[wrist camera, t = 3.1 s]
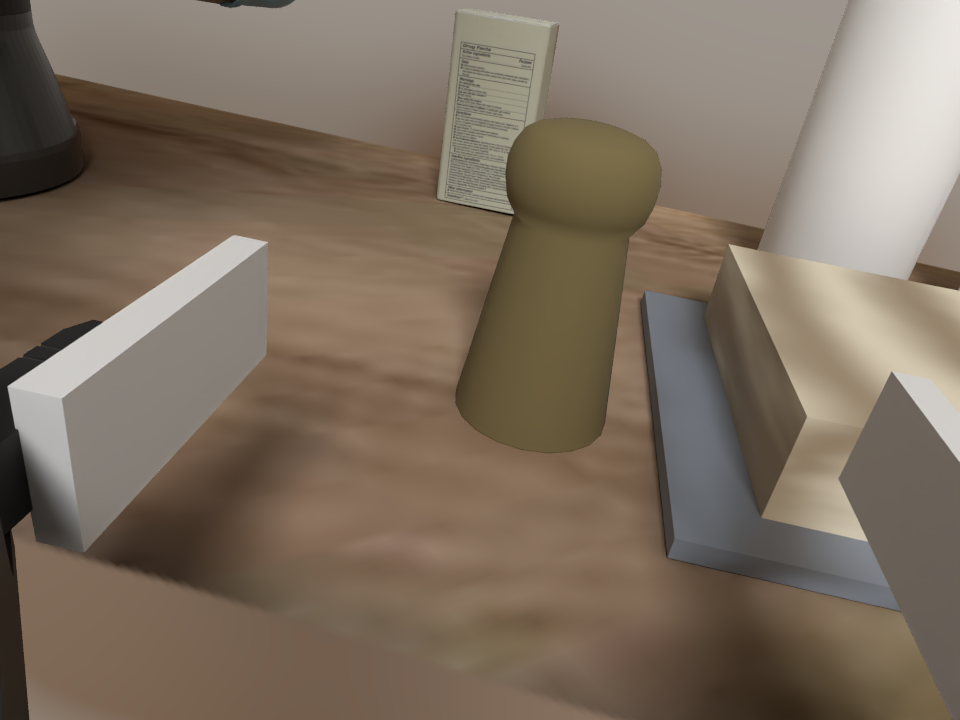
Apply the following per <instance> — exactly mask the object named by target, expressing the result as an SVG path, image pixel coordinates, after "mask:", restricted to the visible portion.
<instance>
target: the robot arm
mask: <svg viewBox="0 0 960 720" xmlns="http://www.w3.org/2000/svg"><path fill="white" fill-rule="evenodd" d="M199 1H205V2H210V3H217V4H220V5H221V6H224V7H229V8H232V7H238V6H241V5H246V6H256V7H267V8H281V7H284V6H286V5H289V4H290V3H292V2H293V1H294V0H199ZM83 167H84V160H83V151H82V142H81V134H80V130H79V126H78V124H77V122H76V120H75V119H74V118H73V116H72V115H71V114H70V111H69V109H68V106H67V103H66V101H65V98H64V96H63V93H62V91H61V88H60V86H59V84H58V81H57V79H56V77H55V74H54V72H53V70H52V67H51V65H50V63H49V61H48V58H47V56H46V54H45V52H44V50H43V47H42V45H41V43H40V41H39V39H38V37H37V34H36V32H35V28H34V25H33V19H32V12H31V5H30V0H0V198H7V197H13V196H19V195H24V194H29V193H33V192H38V191H41V190H45V189H48V188H52V187H55V186H57V185H60V184H62V183H65V182H67V181H69V180H71V179H72V178H74V177H75V176H77V175H78V174H79V173H80V172H81V171H82V169H83ZM267 274H268V242H264V241H260V240H255V239H250V238H245V237H240V236H235V235H233V236H232V237H230V238H229V239H227V240H226V241H224V242H223V243H221V244H220V245H218V246H217V247H215V248H214V249H212V250H211V251H209V252H208V253H206V254H205V255H203V256H202V257H200V258H199V259H197V260H196V261H194V262H193V263H191V264H190V265H188V266H187V267H185V268H184V269H182V270H181V271H179V272H178V273H176V274H175V275H173V276H172V277H170V278H169V279H167V280H166V281H164V282H163V283H161V284H160V285H158V286H157V287H155V288H154V289H152V290H151V291H149V292H148V293H146V294H145V295H143V296H142V297H140V298H139V299H137V300H136V301H134V302H133V303H131V304H130V305H128V306H127V307H125V308H124V309H122V310H121V311H119V312H118V313H116V314H115V315H113V316H112V317H110V318H109V319H107V320H106V321H104V322H101V321H96V320H91V321H88V322H85V323H82V324H79V325H76V326H72V327H69V328H66V329H63V330H62V331H60V332H58V333H57V334H55V335H54V336H52V337H51V338H49V339H47V340H46V341H44V342H43V343H41V347H39V346H36V347H35V348H33V349H32V350H30V351H28V352H27V353H25V354H24V355H23V358H17V359H16V360H14V361H13V362H11V363H9V364H8V365H6V366H5V367H3V368H2V369H0V720H29V711H28V699H27V688H26V676H25V664H24V652H23V640H22V629H21V617H20V605H19V593H18V582H17V570H16V558H15V546H14V541H13V536H12V531H11V529H12V528H13V527H14V526H15V525H16V524H17V523H18V522H20V521H21V520H22V519H23V518H24V517H25V516H26V515H27V514H28V513H29V512H31V516H32V522H33V527H34V532H35V538H36V541H37V542H41V543H45V544H49V545H53V546H57V547H62V548H66V549H70V550H74V551H78V552H83V553H84V552H85V551H86V550H87V549H88V548H89V547H90V546H91V545H92V544H93V542H94V541H95V540H96V539H97V538H98V537H99V536H100V535H101V534H102V533H103V532H104V531H105V529H106V528H107V527H108V526H109V525H110V524H111V523H112V522H113V521H114V520H115V519H116V517H117V516H118V515H119V514H120V513H121V512H122V511H123V510H124V509H125V508H126V507H127V506H128V504H129V503H130V502H131V501H132V500H133V499H134V498H135V497H136V496H137V495H138V494H139V493H140V491H141V490H142V489H143V488H144V487H145V486H146V485H147V484H148V483H149V482H150V481H151V479H152V478H153V477H154V476H155V475H156V474H157V473H158V472H159V471H160V470H161V469H162V468H163V466H164V465H165V464H166V463H167V462H168V461H169V460H170V459H171V458H172V457H173V456H174V455H175V453H176V452H177V451H178V450H179V449H180V448H181V447H182V446H183V445H184V444H185V443H186V441H187V440H188V439H189V438H190V437H191V436H192V435H193V434H194V433H195V432H196V431H197V430H198V428H199V427H200V426H201V425H202V424H203V423H204V422H205V421H206V420H207V419H208V418H209V416H210V415H211V414H212V413H213V412H214V411H215V410H216V409H217V408H218V407H219V406H220V405H221V403H222V402H223V401H224V400H225V399H226V398H227V397H228V396H229V395H230V394H231V393H232V392H233V390H234V389H235V388H236V387H237V386H238V385H239V384H240V383H241V382H242V381H243V380H244V378H245V377H246V376H247V375H248V374H249V373H250V372H251V371H252V370H253V369H254V368H255V367H256V365H257V364H258V363H259V362H260V361H261V360H262V359H263V358H264V357H265V356H266V339H267ZM838 479H839V481H840V483H841V485H842V488H843V490H844V492H845V494H846V496H847V498H848V500H849V502H850V504H851V507H852V509H853V511H854V513H855V515H856V517H857V519H858V521H859V523H860V526H861V528H862V530H863V532H864V534H865V536H866V538H867V540H868V542H869V545H870V547H871V549H872V551H873V553H874V555H875V557H876V559H877V561H878V564H879V566H880V568H881V570H882V572H883V574H884V576H885V578H886V580H887V583H888V585H889V587H890V589H891V591H892V593H893V595H894V597H895V599H896V602H897V604H898V606H899V608H900V610H901V612H902V614H903V616H904V618H905V621H906V623H907V625H908V627H909V629H910V631H911V633H912V635H913V637H914V640H915V642H916V644H917V646H918V648H919V650H920V652H921V654H922V656H923V659H924V661H925V663H926V665H927V667H928V669H929V671H930V673H931V676H932V678H933V680H934V682H935V684H936V686H937V688H938V690H939V692H940V695H941V697H942V699H943V701H944V703H945V705H946V707H947V709H948V711H949V714H950V716H951V718H952V720H960V414H959V413H958V412H957V411H956V409H955V408H954V407H953V406H952V405H951V403H950V402H949V401H948V400H947V399H946V397H945V396H944V395H943V394H942V392H941V391H940V390H939V389H938V388H937V386H936V385H935V384H934V383H933V382H932V380H931V379H928V378H923V377H918V376H914V375H909V374H904V373H899V372H894V371H892V372H891V374H890V376H889V378H888V380H887V382H886V384H885V386H884V388H883V390H882V392H881V394H880V396H879V398H878V400H877V402H876V404H875V406H874V408H873V410H872V412H871V414H870V416H869V418H868V420H867V422H866V424H865V426H864V428H863V430H862V432H861V434H860V436H859V438H858V440H857V442H856V444H855V446H854V448H853V450H852V452H851V454H850V456H849V458H848V460H847V462H846V464H845V466H844V468H843V470H842V472H841V474H840V476H839V478H838Z"/></svg>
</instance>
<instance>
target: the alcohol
mask: <svg viewBox="0 0 960 720" xmlns="http://www.w3.org/2000/svg"><path fill="white" fill-rule="evenodd" d="M959 173H960V0H849V1H848V4H847V6H846V9H845V12H844V15H843V17H842V20H841V23H840V25H839V28H838V31H837V34H836V37H835V39H834V42H833V45H832V47H831V50H830V53H829V55H828V59H827V61H826V64H825V66H824V69H823V72H822V75H821V77H820V80H819V83H818V85H817V88H816V91H815V94H814V96H813V99H812V102H811V105H810V107H809V110H808V113H807V116H806V118H805V121H804V124H803V126H802V129H801V132H800V135H799V138H798V140H797V143H796V146H795V148H794V151H793V154H792V156H791V159H790V162H789V165H788V167H787V170H786V173H785V176H784V178H783V181H782V184H781V187H780V189H779V192H778V195H777V198H776V200H775V203H774V206H773V208H772V211H771V214H770V217H769V219H768V222H767V225H766V227H765V230H764V233H763V236H762V238H761V241H760V244H759V247H758V249H757V250H759V251H764V252H769V253H774V254H779V255H784V256H789V257H794V258H799V259H804V260H809V261H814V262H819V263H824V264H828V265H833V266H838V267H843V268H848V269H853V270H858V271H863V272H868V273H873V274H878V275H883V276H888V277H893V278H898V279H903V280H908V278H909V276H910V274H911V272H912V270H913V268H914V266H915V264H916V262H917V260H918V258H919V256H920V254H921V251H922V249H923V247H924V245H925V243H926V241H927V239H928V237H929V235H930V233H931V231H932V229H933V227H934V225H935V223H936V221H937V218H938V216H939V214H940V212H941V210H942V208H943V206H944V204H945V202H946V200H947V198H948V196H949V194H950V192H951V189H952V187H953V185H954V183H955V181H956V179H957V177H958V175H959Z"/></svg>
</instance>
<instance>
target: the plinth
mask: <svg viewBox="0 0 960 720" xmlns="http://www.w3.org/2000/svg"><path fill="white" fill-rule="evenodd" d="M641 309H642V318H643V328H644V338H645V347H646V357H647V366H648V376H649V386H650V395H651V405H652V415H653V424H654V434H655V443H656V453H657V463H658V472H659V482H660V491H661V501H662V511H663V520H664V530H665V539H666V549H667V558H671V559H675V560H679V561H684V562H688V563H692V564H697V565H701V566H706V567H710V568H714V569H719V570H723V571H727V572H732V573H736V574H740V575H745V576H749V577H753V578H758V579H762V580H767V581H771V582H775V583H780V584H784V585H788V586H793V587H797V588H801V589H806V590H810V591H814V592H819V593H823V594H828V595H832V596H836V597H841V598H845V599H849V600H854V601H858V602H862V603H867V604H871V605H875V606H880V607H884V608H889V609H893V610H897V611H901V610H900V608H899V606H898V604H897V602H896V599H895V597H894V595H893V593H892V591H891V589H890V587H889V585H888V583H887V580H886V578H885V576H884V574H883V572H882V570H881V568H880V566H879V564H878V561H877V559H876V557H875V555H874V553H873V551H872V549H871V547H870V545H869V542H868V540H867V538H866V536H865V534H864V532H863V530H862V528H861V526H860V523H859V521H858V519H857V517H856V515H855V513H854V511H853V509H852V507H851V504H850V502H849V500H848V498H847V496H846V494H845V492H844V490H843V488H842V485H841V483H840V481H839V479H838V478H839V476H840V474H841V472H842V470H843V468H844V466H845V464H846V462H847V460H848V458H849V456H850V454H851V452H852V450H853V448H854V446H855V444H856V442H857V440H858V438H859V436H860V434H861V432H862V430H863V428H864V426H865V424H866V422H867V420H868V418H869V416H870V414H871V412H872V410H873V408H874V406H875V404H876V402H877V400H878V398H879V396H880V394H881V392H882V390H883V388H884V386H885V384H886V382H887V380H888V378H889V376H890V374H891V372H892V371H894V372H899V373H904V374H909V375H914V376H918V377H923V378H928V379H931V380H932V382H933V383H934V384H935V385H936V386H937V388H938V389H939V390H940V391H941V392H942V394H943V395H944V396H945V397H946V399H947V400H948V401H949V402H950V403H951V405H952V406H953V407H954V408H955V409H956V411H957V412H958V413H959V414H960V291H957V290H952V289H947V288H942V287H937V286H932V285H927V284H923V283H918V282H913V281H908V280H903V279H898V278H893V277H888V276H883V275H878V274H873V273H868V272H863V271H858V270H853V269H848V268H843V267H838V266H833V265H828V264H824V263H819V262H814V261H809V260H804V259H799V258H794V257H789V256H784V255H779V254H774V253H769V252H764V251H759V250H754V249H749V248H744V247H739V246H734V245H730V244H728V247H727V250H726V253H725V256H724V259H723V262H722V265H721V268H720V271H719V274H718V276H717V279H716V282H715V285H714V288H713V291H712V294H711V297H710V300H709V303H704V302H699V301H694V300H690V299H685V298H680V297H675V296H670V295H666V294H661V293H656V292H651V291H646V290H645V291H644V295H643V298H642V301H641Z"/></svg>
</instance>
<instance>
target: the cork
mask: <svg viewBox="0 0 960 720" xmlns="http://www.w3.org/2000/svg"><path fill="white" fill-rule="evenodd" d="M661 170H662V169H661V165H660V162H659V158H658V154H657V152H656V151H655V150H654V149H653V148H652V147H651V146H650V145H649V144H648V142H647V141H646V140H644V139H642V138H640V137H638V136H636V135H634V134H632V133H630V132H628V131H626V130H623V129H621V128H618V127H615V126H612V125H609V124H605V123H602V122H597V121H592V120H586V119H575V118H554V119H543V120H539V121H537V122H534V123H532V124H530V125H528V126H526V127H525V128H524V129H523V131H522V132H521V133H520V134H519V135H518V136H517V138H516V139H515V140H514V142H513V145H512V147H511V149H510V152H509V154H508V158H507V164H506V171H505V178H506V192H507V198H508V200H509V203H510V205H511V207H512V209H513V211H514V215H513V218H512V221H511V224H510V227H509V230H508V233H507V236H506V239H505V242H504V245H503V248H502V252H501V255H500V258H499V261H498V264H497V267H496V270H495V273H494V276H493V279H492V282H491V285H490V288H489V291H488V294H487V297H486V301H485V304H484V307H483V310H482V313H481V316H480V319H479V322H478V325H477V328H476V331H475V334H474V337H473V340H472V343H471V346H470V350H469V353H468V356H467V359H466V362H465V365H464V368H463V371H462V374H461V377H460V380H459V383H458V386H457V389H456V405H457V407H458V409H459V411H460V413H461V415H462V417H463V418H464V419H465V420H466V421H467V422H469V423H470V424H471V425H472V426H473V427H474V428H475V429H476V430H477V431H479V432H481V433H483V434H485V435H486V436H488V437H490V438H492V439H494V440H495V441H497V442H500V443H503V444H506V445H509V446H512V447H516V448H519V449H522V450H529V451H537V452H544V453H554V452H568V451H573V450H576V449H579V448H582V447H585V446H588V445H590V444H591V443H592V442H593V441H595V440H596V439H597V438H598V437H599V436H600V435H601V433H602V430H603V427H604V424H605V418H606V410H607V403H608V395H609V388H610V380H611V373H612V365H613V358H614V350H615V342H616V335H617V327H618V320H619V312H620V305H621V297H622V290H623V282H624V275H625V267H626V260H627V252H628V244H629V237H630V236H632V235H633V234H634V233H635V232H636V231H637V230H639V229H640V228H641V227H642V226H643V225H644V224H645V222H646V221H647V219H648V217H649V215H650V214H651V212H652V210H653V208H654V206H655V203H656V200H657V197H658V193H659V190H660V187H661Z"/></svg>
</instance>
